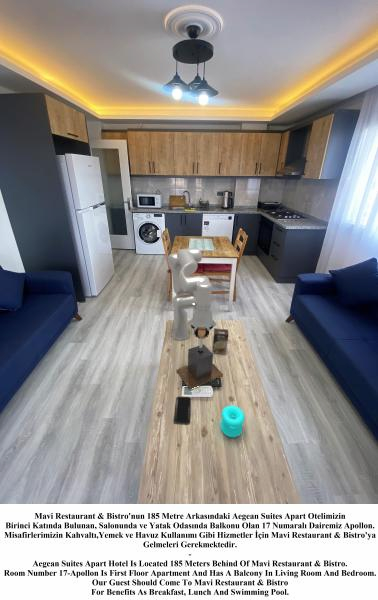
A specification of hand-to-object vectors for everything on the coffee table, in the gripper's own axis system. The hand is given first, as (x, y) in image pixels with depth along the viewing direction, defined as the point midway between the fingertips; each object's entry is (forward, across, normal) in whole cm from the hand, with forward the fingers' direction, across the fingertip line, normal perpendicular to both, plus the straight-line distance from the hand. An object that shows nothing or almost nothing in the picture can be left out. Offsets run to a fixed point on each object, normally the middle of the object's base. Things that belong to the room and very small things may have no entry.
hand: (201, 335), depth 129 cm
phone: (+28, -9, -25) cm, 38 cm away
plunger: (+16, 0, 0) cm, 16 cm away
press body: (+27, 0, 0) cm, 27 cm away
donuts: (+28, +14, -34) cm, 46 cm away
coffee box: (+28, +14, +20) cm, 37 cm away
